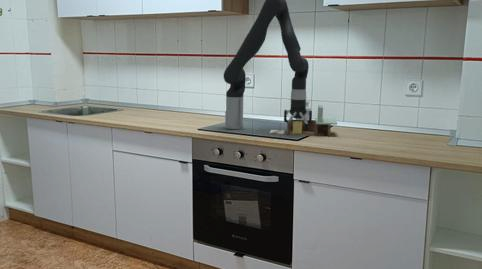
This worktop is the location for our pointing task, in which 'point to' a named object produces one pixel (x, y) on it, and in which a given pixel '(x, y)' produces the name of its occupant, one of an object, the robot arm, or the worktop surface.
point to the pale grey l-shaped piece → (324, 121)
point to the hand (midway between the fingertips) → (297, 130)
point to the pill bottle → (306, 113)
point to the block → (297, 127)
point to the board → (311, 131)
